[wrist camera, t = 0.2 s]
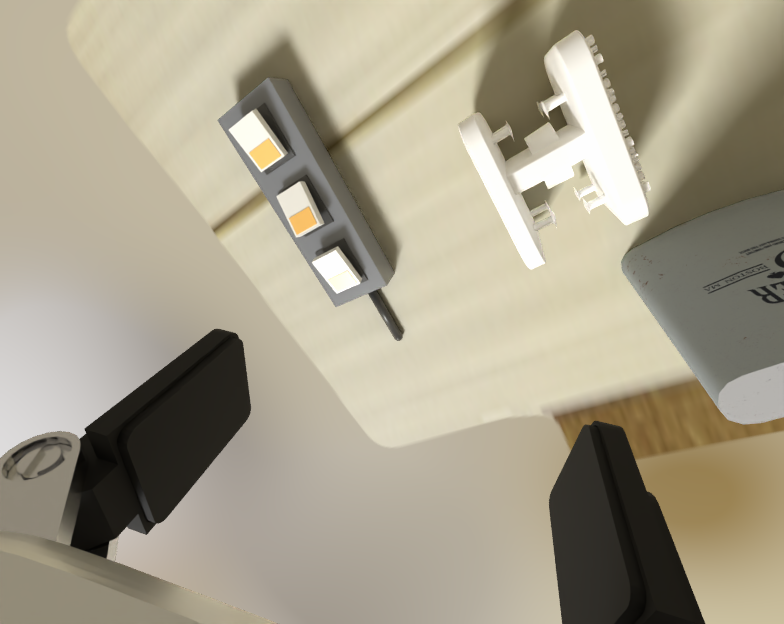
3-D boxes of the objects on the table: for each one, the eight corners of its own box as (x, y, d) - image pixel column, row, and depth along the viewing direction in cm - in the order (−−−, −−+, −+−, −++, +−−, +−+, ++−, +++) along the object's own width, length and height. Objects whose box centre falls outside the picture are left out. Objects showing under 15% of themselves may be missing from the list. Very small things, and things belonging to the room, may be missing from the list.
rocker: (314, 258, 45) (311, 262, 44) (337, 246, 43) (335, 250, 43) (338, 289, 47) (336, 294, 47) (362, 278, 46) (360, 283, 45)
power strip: (238, 118, 45) (213, 120, 41) (287, 79, 42) (265, 76, 38) (378, 345, 56) (368, 363, 52) (426, 329, 52) (419, 347, 48)
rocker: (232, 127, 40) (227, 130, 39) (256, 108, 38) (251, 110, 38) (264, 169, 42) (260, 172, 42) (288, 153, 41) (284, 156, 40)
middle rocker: (281, 196, 43) (275, 196, 43) (304, 181, 42) (299, 181, 41) (300, 236, 44) (295, 237, 43) (324, 223, 43) (319, 224, 42)
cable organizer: (462, 113, 39) (447, 116, 29) (566, 42, 34) (591, 17, 24) (523, 237, 43) (529, 277, 33) (624, 190, 39) (664, 219, 29)
